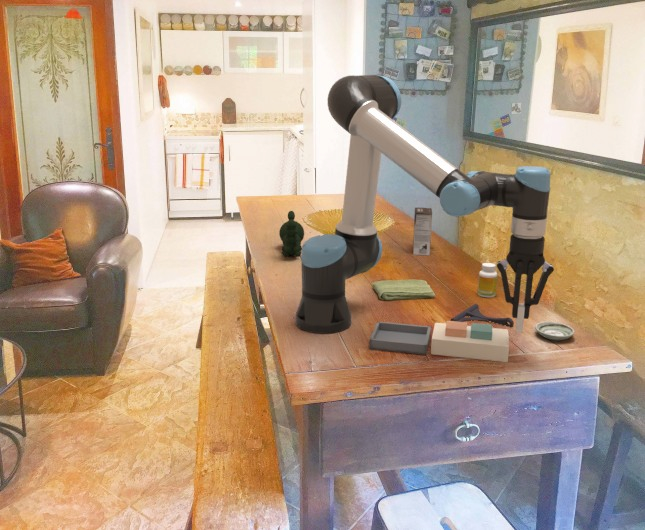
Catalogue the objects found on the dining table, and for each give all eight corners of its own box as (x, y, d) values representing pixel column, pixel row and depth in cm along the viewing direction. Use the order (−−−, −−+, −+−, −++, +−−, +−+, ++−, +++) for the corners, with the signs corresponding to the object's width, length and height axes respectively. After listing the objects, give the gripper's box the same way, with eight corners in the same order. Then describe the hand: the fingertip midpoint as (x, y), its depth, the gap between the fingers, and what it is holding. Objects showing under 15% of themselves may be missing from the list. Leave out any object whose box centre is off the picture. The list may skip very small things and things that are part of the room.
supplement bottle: (496, 298, 191) (498, 267, 188) (477, 297, 192) (480, 266, 189) (495, 292, 196) (497, 262, 193) (477, 291, 197) (479, 261, 194)
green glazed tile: (470, 338, 153) (470, 330, 152) (470, 330, 158) (471, 322, 157) (491, 340, 152) (492, 332, 151) (491, 332, 156) (492, 324, 156)
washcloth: (437, 300, 191) (437, 290, 190) (380, 303, 188) (380, 292, 187) (424, 286, 203) (425, 276, 202) (370, 288, 201) (370, 278, 200)
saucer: (552, 347, 158) (553, 338, 157) (526, 333, 167) (527, 324, 166) (581, 341, 162) (583, 332, 161) (554, 327, 170) (555, 319, 170)
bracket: (501, 337, 165) (502, 327, 164) (449, 323, 174) (450, 314, 173) (522, 321, 176) (523, 311, 175) (473, 309, 185) (473, 300, 184)
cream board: (430, 354, 154) (431, 338, 152) (434, 336, 163) (435, 322, 162) (507, 362, 149) (509, 346, 148) (506, 344, 159) (508, 329, 158)
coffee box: (412, 248, 244) (414, 207, 239) (429, 248, 243) (431, 207, 238) (412, 254, 236) (414, 212, 231) (430, 255, 235) (432, 212, 230)
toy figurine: (305, 266, 227) (304, 242, 250) (304, 215, 220) (303, 195, 243) (278, 266, 227) (280, 242, 250) (277, 216, 220) (279, 195, 243)
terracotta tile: (445, 335, 154) (445, 328, 154) (446, 327, 159) (446, 320, 158) (466, 337, 153) (466, 330, 153) (466, 329, 158) (467, 322, 157)
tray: (369, 348, 156) (369, 339, 156) (377, 330, 168) (377, 321, 167) (426, 354, 153) (426, 345, 152) (430, 335, 164) (431, 326, 164)
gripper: (498, 237, 143) (491, 333, 150) (559, 240, 140) (548, 339, 147) (498, 229, 150) (490, 322, 157) (556, 232, 147) (546, 326, 154)
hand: (518, 330), depth 152 cm, fingers closed
